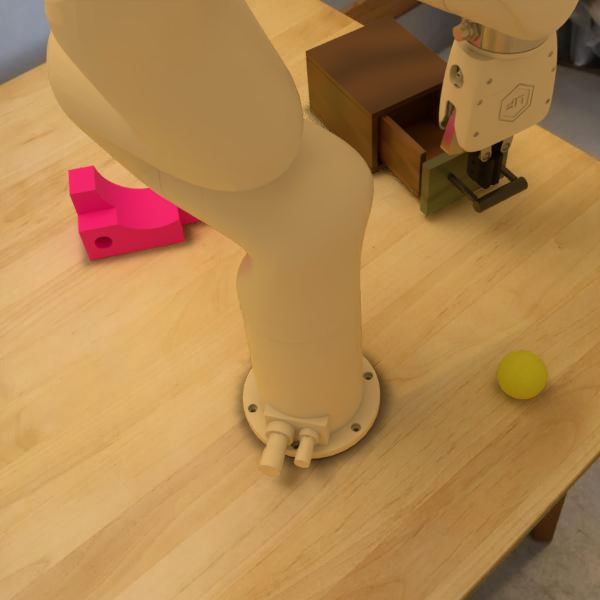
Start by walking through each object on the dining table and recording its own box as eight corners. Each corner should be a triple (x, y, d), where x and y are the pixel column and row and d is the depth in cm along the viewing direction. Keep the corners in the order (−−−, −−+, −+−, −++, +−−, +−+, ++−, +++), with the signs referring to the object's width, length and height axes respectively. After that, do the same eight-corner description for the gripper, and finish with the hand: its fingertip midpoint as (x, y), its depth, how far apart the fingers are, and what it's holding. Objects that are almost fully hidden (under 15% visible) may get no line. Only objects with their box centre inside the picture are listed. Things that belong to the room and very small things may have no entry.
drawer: (538, 208, 90) (549, 160, 85) (459, 250, 88) (464, 203, 82) (435, 116, 100) (438, 68, 95) (361, 151, 98) (360, 103, 92)
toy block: (90, 260, 91) (70, 211, 86) (87, 219, 95) (68, 170, 89) (227, 233, 92) (217, 183, 87) (219, 193, 96) (209, 143, 90)
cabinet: (454, 134, 100) (460, 73, 93) (372, 174, 97) (371, 114, 90) (388, 75, 107) (389, 15, 100) (309, 110, 104) (305, 50, 97)
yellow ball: (541, 412, 76) (549, 386, 73) (491, 403, 77) (496, 377, 74) (545, 371, 79) (552, 344, 75) (496, 364, 80) (502, 336, 76)
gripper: (462, 71, 68) (444, 231, 82) (604, 9, 72) (564, 171, 86) (407, 27, 72) (399, 186, 86) (544, -29, 76) (515, 131, 91)
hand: (482, 178), depth 86 cm, fingers closed
